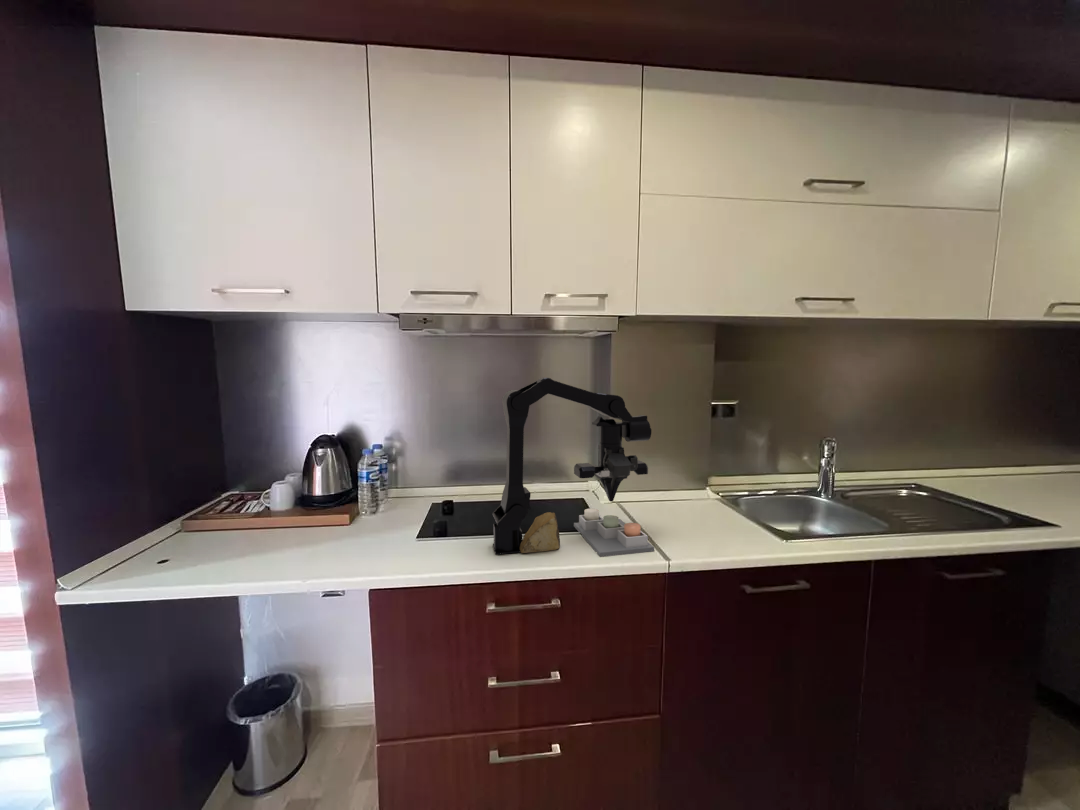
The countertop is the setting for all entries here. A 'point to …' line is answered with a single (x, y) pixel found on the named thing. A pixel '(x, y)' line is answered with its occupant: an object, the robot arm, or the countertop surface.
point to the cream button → (591, 514)
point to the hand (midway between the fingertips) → (610, 501)
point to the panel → (611, 538)
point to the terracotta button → (632, 529)
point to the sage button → (610, 521)
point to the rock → (541, 535)
